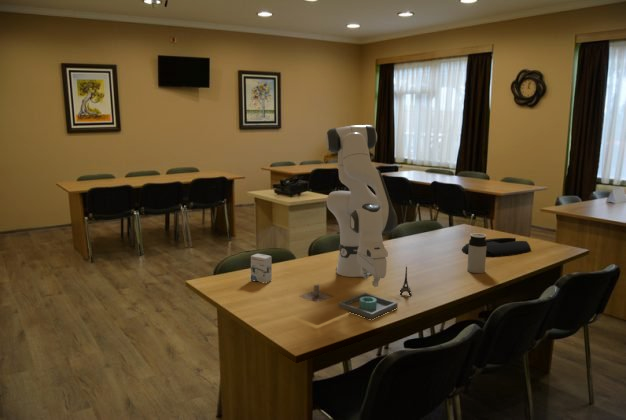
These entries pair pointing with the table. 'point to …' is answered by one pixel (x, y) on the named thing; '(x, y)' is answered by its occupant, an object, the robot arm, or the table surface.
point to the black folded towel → (503, 247)
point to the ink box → (261, 268)
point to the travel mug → (477, 253)
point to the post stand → (316, 295)
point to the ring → (368, 303)
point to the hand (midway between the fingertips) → (370, 281)
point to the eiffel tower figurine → (405, 288)
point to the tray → (381, 309)
